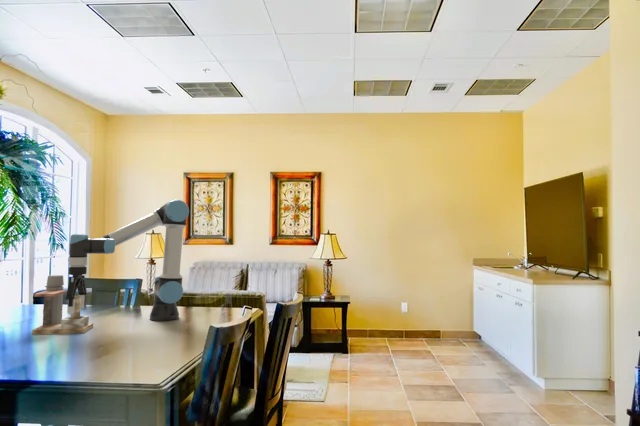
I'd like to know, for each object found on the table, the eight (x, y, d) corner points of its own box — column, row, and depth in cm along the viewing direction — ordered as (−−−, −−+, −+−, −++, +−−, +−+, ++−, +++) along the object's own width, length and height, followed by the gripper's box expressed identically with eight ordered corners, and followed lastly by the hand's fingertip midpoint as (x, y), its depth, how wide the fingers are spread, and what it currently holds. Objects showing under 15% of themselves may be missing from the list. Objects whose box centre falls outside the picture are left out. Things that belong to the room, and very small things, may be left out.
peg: (80, 325, 206) (82, 296, 207) (78, 327, 202) (79, 297, 203) (71, 325, 205) (73, 296, 206) (68, 327, 201) (70, 297, 202)
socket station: (93, 327, 212) (94, 290, 213) (84, 332, 199) (86, 293, 200) (43, 328, 207) (45, 290, 208) (31, 334, 195) (33, 294, 196)
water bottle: (65, 325, 216) (67, 275, 217) (54, 328, 208) (56, 276, 209) (48, 324, 216) (51, 274, 218) (36, 327, 209) (39, 276, 210)
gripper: (78, 264, 217) (76, 306, 216) (59, 268, 193) (57, 315, 191) (94, 264, 218) (92, 306, 217) (77, 268, 194) (75, 315, 193)
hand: (75, 311), depth 204 cm, fingers open, 13 cm apart
